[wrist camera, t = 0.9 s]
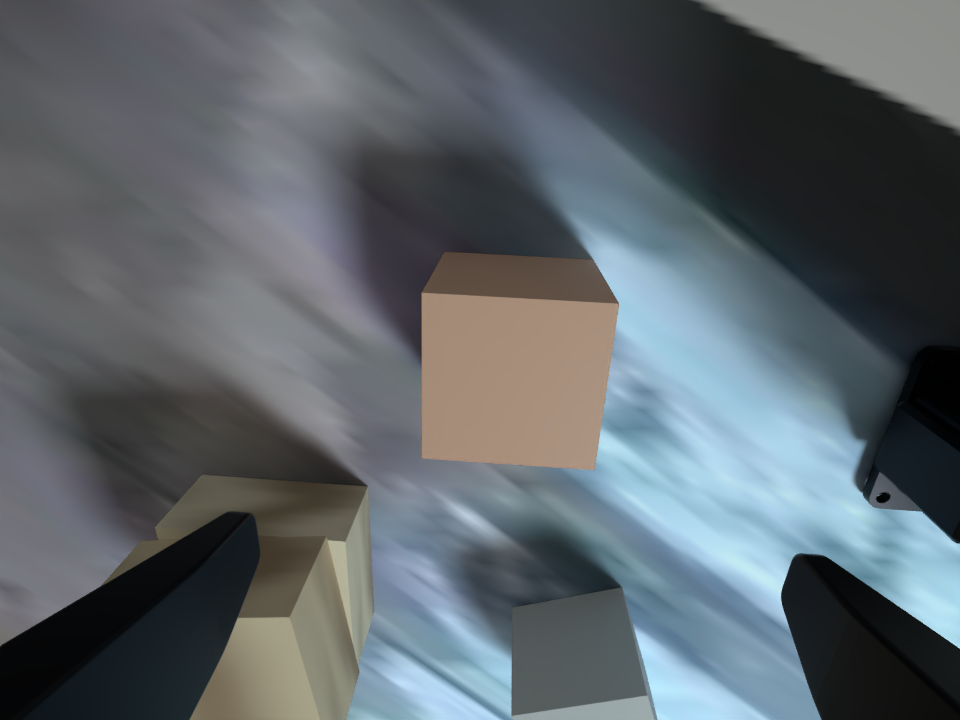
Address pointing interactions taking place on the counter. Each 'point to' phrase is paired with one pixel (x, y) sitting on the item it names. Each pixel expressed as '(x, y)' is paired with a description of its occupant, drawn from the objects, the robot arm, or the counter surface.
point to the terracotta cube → (515, 359)
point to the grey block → (578, 661)
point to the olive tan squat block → (293, 527)
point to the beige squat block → (281, 638)
